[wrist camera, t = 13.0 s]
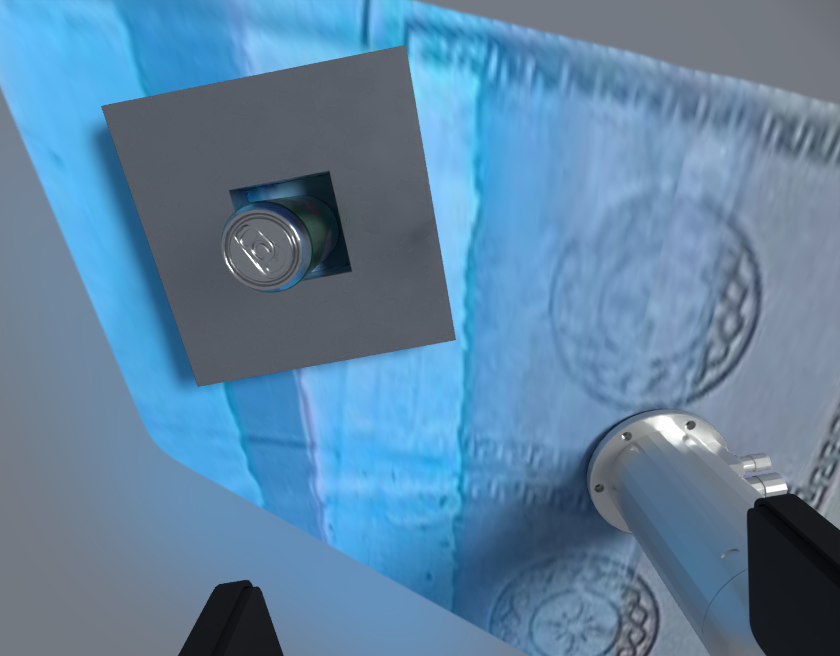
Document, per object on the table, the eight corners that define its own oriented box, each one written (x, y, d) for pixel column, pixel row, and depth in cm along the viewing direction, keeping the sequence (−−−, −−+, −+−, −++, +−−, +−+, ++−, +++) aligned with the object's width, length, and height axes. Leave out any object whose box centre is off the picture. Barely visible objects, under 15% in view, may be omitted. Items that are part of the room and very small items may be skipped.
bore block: (405, 58, 34) (405, 45, 31) (451, 326, 40) (455, 339, 36) (130, 113, 35) (101, 106, 31) (215, 369, 40) (198, 386, 37)
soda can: (308, 275, 38) (265, 315, 27) (259, 227, 37) (193, 248, 26) (353, 230, 37) (329, 253, 26) (305, 180, 36) (257, 180, 25)
